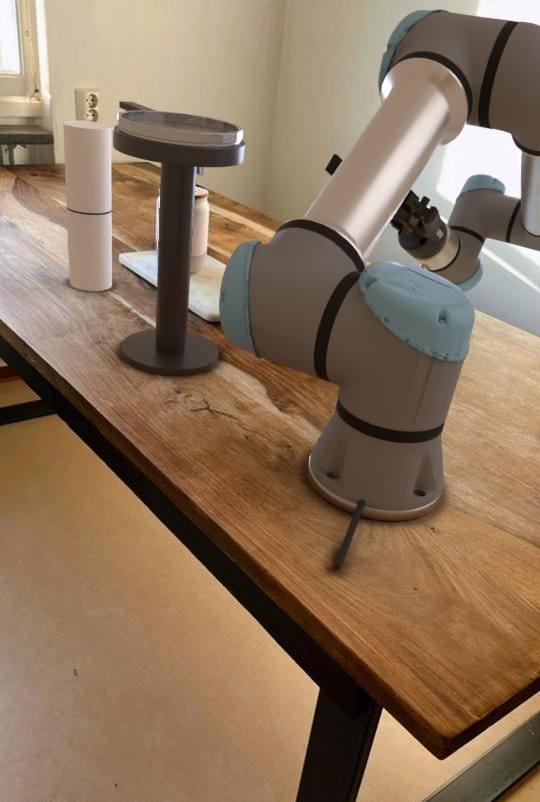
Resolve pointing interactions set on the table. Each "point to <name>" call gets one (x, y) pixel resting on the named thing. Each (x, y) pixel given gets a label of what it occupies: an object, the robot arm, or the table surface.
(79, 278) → the cylindrical container
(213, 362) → the plant stand
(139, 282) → the table surface
